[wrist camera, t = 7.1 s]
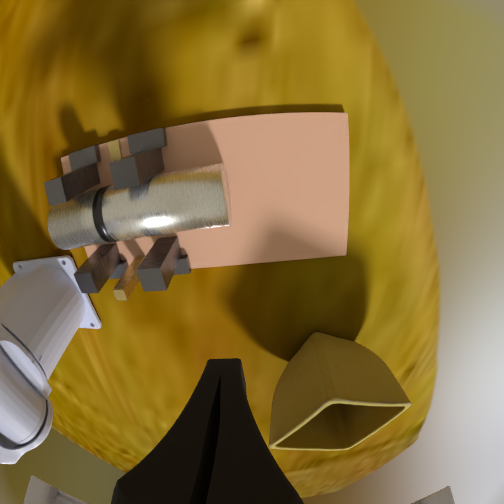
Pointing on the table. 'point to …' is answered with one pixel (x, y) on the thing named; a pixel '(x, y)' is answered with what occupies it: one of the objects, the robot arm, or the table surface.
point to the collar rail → (123, 176)
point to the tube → (144, 209)
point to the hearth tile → (259, 187)
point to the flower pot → (333, 396)
